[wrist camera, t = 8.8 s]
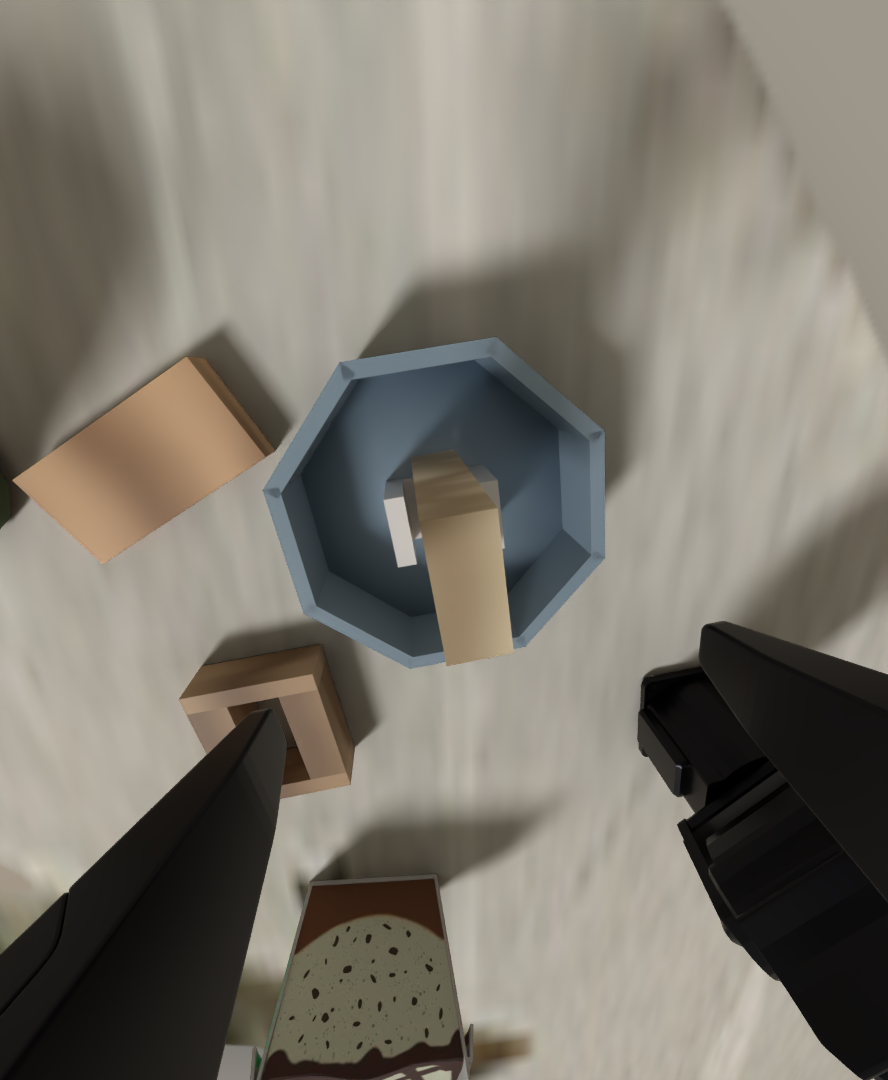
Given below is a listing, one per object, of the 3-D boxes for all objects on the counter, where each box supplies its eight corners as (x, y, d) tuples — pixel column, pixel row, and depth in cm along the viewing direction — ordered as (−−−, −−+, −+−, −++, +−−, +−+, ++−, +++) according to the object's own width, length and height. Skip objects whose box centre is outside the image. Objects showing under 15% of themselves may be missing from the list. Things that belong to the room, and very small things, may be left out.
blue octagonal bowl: (562, 330, 18) (604, 318, 14) (572, 590, 23) (605, 631, 19) (262, 379, 18) (226, 380, 14) (339, 634, 23) (327, 684, 19)
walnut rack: (321, 643, 23) (312, 674, 20) (355, 748, 26) (350, 784, 23) (201, 666, 22) (178, 699, 20) (249, 768, 26) (234, 808, 23)
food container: (293, 932, 32) (249, 1156, 23) (288, 882, 30) (239, 1109, 21) (449, 920, 34) (467, 1126, 24) (456, 872, 31) (479, 1079, 22)
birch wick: (453, 449, 19) (497, 508, 10) (467, 540, 20) (513, 652, 12) (410, 457, 19) (419, 522, 10) (427, 547, 20) (446, 666, 12)
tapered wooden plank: (208, 358, 18) (186, 356, 16) (278, 448, 19) (265, 457, 17) (50, 469, 18) (12, 480, 17) (129, 546, 20) (102, 564, 18)
